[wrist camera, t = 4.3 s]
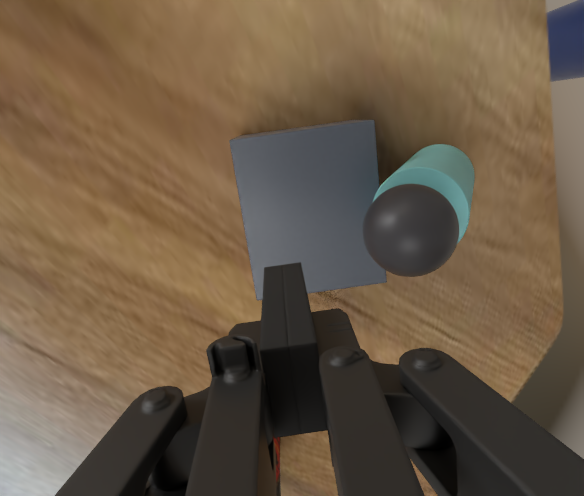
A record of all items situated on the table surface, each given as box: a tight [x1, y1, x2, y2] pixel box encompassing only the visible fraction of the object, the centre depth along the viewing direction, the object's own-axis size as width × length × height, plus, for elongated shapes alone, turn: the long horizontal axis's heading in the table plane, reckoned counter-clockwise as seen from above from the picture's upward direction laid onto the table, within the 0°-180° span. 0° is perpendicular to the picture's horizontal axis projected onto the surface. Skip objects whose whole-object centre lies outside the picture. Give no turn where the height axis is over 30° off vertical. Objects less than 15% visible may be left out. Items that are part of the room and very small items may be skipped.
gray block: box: [230, 120, 387, 300], centre depth 35 cm, size 10×12×9 cm
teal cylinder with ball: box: [363, 144, 475, 277], centre depth 31 cm, size 12×6×19 cm, turn 98°
